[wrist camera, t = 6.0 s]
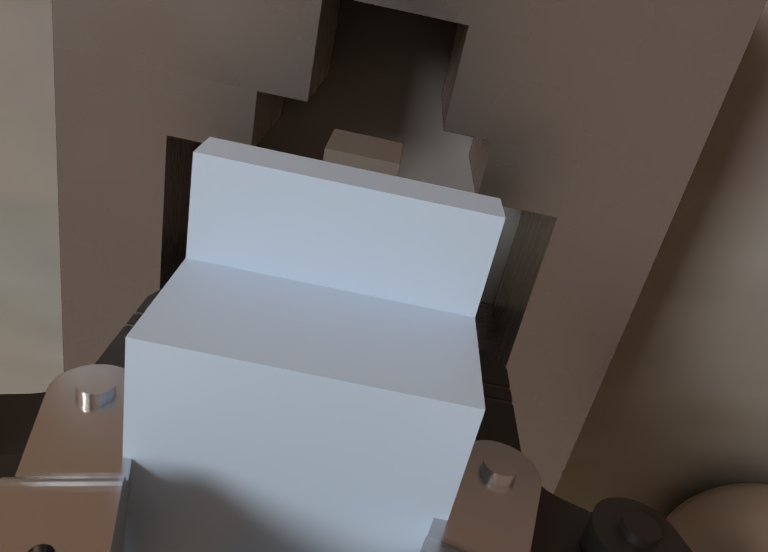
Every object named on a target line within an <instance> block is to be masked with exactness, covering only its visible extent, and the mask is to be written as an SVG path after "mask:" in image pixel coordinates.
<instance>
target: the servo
mask: <svg viewBox="0 0 768 552" xmlns="http://www.w3.org/2000/svg"><path fill="white" fill-rule="evenodd" d="M402 146H403V143H400V142H395V141H391V140H386V139H381V138H377V137H372V136H367V135H363V134H358V133H353V132H349V131H344V130H339V129H334V131H333V133H332V135H331V137H330V139H329V141H328V143H327V145H326V147H325V150H324V157H323V161H322V160H317V159H312V158H308V157H303V156H298V155H293V154H289V153H284V152H279V151H275V150H270V149H265V148H261V147H256V146H251V145H246V144H242V143H237V142H232V141H228V140H223V139H218V138H214V137H209V138H208V139H207V140H206V141H204V142H203V143H202V144H201V145H200V146H199V147H198V148H197V149H196V150H195V151H193V161H192V175H191V190H190V204H189V219H188V233H187V247H186V258H185V260H184V261H183V262H182V263H181V265H180V266H179V267H178V269H177V270H176V271H175V273H174V274H173V275H172V277H171V278H170V279H169V281H168V282H167V283H166V284H165V286H164V287H163V288H162V290H161V291H160V292H159V294H158V295H157V296H156V298H155V299H154V300H153V302H152V303H151V304H150V306H149V307H148V308H147V309H146V311H145V312H144V313H143V315H142V316H141V317H140V319H139V320H138V321H137V323H136V324H135V325H134V327H133V328H132V329H131V330H130V332H129V333H128V334H127V336H126V337H125V377H124V418H123V457H124V458H130V459H132V470H131V489H130V495H129V501H128V508H127V516H126V526H125V543H124V552H420V551H421V548H422V545H423V542H424V540H425V537H426V535H428V532H429V529H430V527H431V524H432V521H433V518H438V519H443V520H448V518H449V515H450V512H451V509H452V506H453V503H454V501H455V498H456V495H457V492H458V489H459V486H460V483H461V480H462V477H463V474H464V471H465V468H466V465H467V462H468V459H469V456H470V454H471V451H472V448H473V445H474V442H475V439H476V436H477V433H478V430H479V427H480V424H481V421H482V418H483V415H484V412H485V402H484V393H483V384H482V375H481V366H480V357H479V348H478V339H477V330H476V321H475V316H476V313H477V310H478V306H479V303H480V300H481V297H482V293H483V290H484V287H485V284H486V280H487V277H488V274H489V271H490V267H491V264H492V261H493V257H494V254H495V251H496V248H497V244H498V241H499V238H500V235H501V231H502V228H503V225H504V222H505V214H504V210H503V206H502V202H501V199H500V198H495V197H491V196H486V195H481V194H477V193H472V192H467V191H463V190H458V189H453V188H449V187H444V186H439V185H434V184H430V183H425V182H420V181H416V180H411V179H406V178H402V177H397V175H398V171H399V166H400V160H401V153H402Z"/></svg>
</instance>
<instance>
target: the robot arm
mask: <svg viewBox="0 0 768 552" xmlns="http://www.w3.org/2000/svg"><path fill="white" fill-rule="evenodd" d="M161 290H162V289H161ZM161 290H159V291H157V292H155V293H153V294H151V295H149V296H147V298H146V299H145V300H144V302H143V303H142V304H141V305H140V307H139V308H138V309H137V310H136V314H133V316H132V317H131V318H130V319H129V321H128V322H127V325H126V326H124V327H123V328H122V330H121V331H120V332H119V333H118V335H117V336H116V337H115V339H114V340H113V341H112V342H111V344H110V345H109V346H108V347H107V349H106V350H105V351H104V353H103V354H102V355H101V356H100V358H99V359H98V360H97V361H96V363H95V364H93V365H85V366H80V367H77V368H74V369H71V370H68V371H66V372H64V373H62V374H61V375H59V376H58V377H56V378H55V379H54V380H53V381H52V382H51V383H50V385H49V386H48V388H47V390H46V392H43V393H34V394H2V395H0V552H124V543H125V526H126V516H127V508H128V501H129V495H130V489H131V470H132V459H130V458H124V457H123V418H124V377H125V337H126V336H127V334H128V333H129V332H130V330H131V329H132V328H133V327H134V325H135V324H136V323H137V321H138V320H139V319H140V317H141V316H142V315H143V313H144V312H145V311H146V309H147V308H148V307H149V306H150V304H151V303H152V302H153V300H154V299H155V298H156V296H157V295H158V294H159V292H160V291H161ZM479 357H480V366H481V375H482V384H483V393H484V402H485V412H484V415H483V418H482V421H481V424H480V427H479V430H478V433H477V436H476V439H475V442H474V445H473V448H472V451H471V454H470V456H469V459H468V462H467V465H466V468H465V471H464V474H463V477H462V480H461V483H460V486H459V489H458V492H457V495H456V498H455V501H454V503H453V506H452V509H451V512H450V515H449V518H448V520H443V519H438V518H433V521H432V524H431V527H430V529H429V532H428V535H426V537H425V540H424V542H423V545H422V548H421V551H420V552H693V551H692V550H691V549H690V548H689V546H688V545H687V544H686V542H685V541H684V540H683V538H682V537H681V536H680V534H679V533H678V532H677V530H676V529H675V528H674V527H673V526H672V525H671V523H669V522H668V521H667V520H666V519H665V518H664V517H663V516H662V515H660V514H659V513H658V512H656V511H655V510H653V509H651V508H650V507H648V506H646V505H644V504H642V503H639V502H637V501H634V500H630V499H626V498H607V499H605V500H602V501H601V502H599V503H598V504H597V505H596V506H595V507H594V509H593V512H592V513H591V512H589V511H587V510H585V509H583V508H580V507H578V506H576V505H574V504H571V503H569V502H567V501H565V500H563V499H561V498H559V497H557V496H555V495H553V494H552V493H550V492H549V491H547V490H546V489H545V488H543V487H542V481H541V476H540V474H539V472H538V470H537V468H536V467H535V465H534V464H533V463H532V462H531V460H530V459H528V458H527V457H526V456H525V455H524V454H522V453H521V447H520V441H519V436H518V430H517V424H516V418H515V412H514V407H513V405H512V395H511V390H510V383H509V377H508V372H507V369H506V367H505V366H504V365H503V363H502V362H501V361H500V359H499V358H498V357H497V355H496V354H495V353H494V352H491V351H486V350H481V349H479Z"/></svg>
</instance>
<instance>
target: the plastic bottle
mask: <svg viewBox="0 0 768 552" xmlns="http://www.w3.org/2000/svg"><path fill="white" fill-rule="evenodd" d="M666 520H667V521H668V522H669V523H671V525H672V526H673V527H674V528H675V529H676V530H677V532H678V533H679V534H680V536H681V537H682V538H683V540H684V541H685V542H686V544H687V545H688V546H689V548H690V549H691V550H692V551H693V552H768V484H763V483H736V484H730V485H724V486H719V487H716V488H713V489H709V490H706V491H703V492H701V493H699V494H697V495H695V496H693V497H691V498H689V499H687V500H686V501H685V502H683V503H682V504H680V505H679V506H677V507H676V508H675V509H674V510H673V511H672V512H671V513H670V514H669V515H668V516H667V518H666Z"/></svg>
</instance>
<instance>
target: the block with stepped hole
mask: <svg viewBox="0 0 768 552" xmlns="http://www.w3.org/2000/svg"><path fill="white" fill-rule="evenodd" d="M340 1H341V0H52V23H53V54H54V84H55V115H56V146H57V176H58V207H59V237H60V268H61V299H62V329H63V360H64V372H66V371H68V370H71V369H74V368H77V367H80V366H85V365H93V364H95V363H96V361H97V360H98V359H99V358H100V356H101V355H102V354H103V353H104V351H105V350H106V349H107V347H108V346H109V345H110V344H111V342H112V341H113V340H114V339H115V337H116V336H117V335H118V333H119V332H120V331H121V330H122V328H123V327H124V326H126V325H127V322H128V321H129V319H130V318H131V317H132V316H133V314H136V310H137V309H138V308H139V307H140V305H141V304H142V303H143V302H144V300H145V299H146V298H147V296H149V295H151V294H153V293H155V292H157V291H159V290H161V289H162V288H163V287H164V286H165V284H166V283H167V282H168V281H169V279H170V278H171V277H172V275H173V274H174V273H175V271H176V270H177V269H178V267H179V266H180V265H181V263H182V262H183V261H184V260H185V258H186V247H187V233H188V219H189V204H190V190H191V175H192V161H193V151H195V150H196V149H197V148H198V147H199V146H200V145H201V144H202V143H203V142H204V141H206V140H207V139H208V138H209V137H214V138H218V139H223V140H228V141H232V142H237V143H242V144H246V145H251V146H257V144H258V143H259V142H260V141H261V139H262V138H263V137H264V136H265V135H266V133H267V132H268V131H269V130H270V128H271V127H272V126H273V125H274V124H275V122H276V121H277V120H278V119H279V117H280V116H281V115H282V108H283V100H284V97H288V98H292V99H297V100H302V101H306V102H308V100H309V99H310V98H311V96H312V95H313V93H314V92H315V91H316V89H317V88H318V87H319V85H320V84H321V82H322V81H323V80H324V78H325V77H326V76H327V74H328V73H329V71H330V65H331V59H332V53H333V46H334V40H335V33H336V27H337V20H338V14H339V7H340ZM355 1H360V2H364V3H369V4H373V5H378V6H382V7H387V8H392V9H396V10H401V11H405V12H410V13H414V14H419V15H424V16H428V17H433V18H437V19H442V20H446V21H451V22H456V23H458V28H457V32H456V36H455V40H454V45H453V49H452V53H451V57H450V62H449V66H448V70H447V74H446V79H445V83H444V87H443V91H442V113H443V131H447V132H451V133H456V134H461V135H466V136H470V137H473V141H472V145H471V149H470V152H469V158H470V165H471V171H472V177H473V183H474V189H475V193H477V194H481V195H486V196H491V197H495V198H500V199H501V202H502V206H505V207H510V208H515V209H519V210H523V213H522V216H521V219H520V222H519V226H518V229H517V232H516V235H515V238H514V241H513V244H512V248H511V251H510V254H509V257H508V260H507V263H506V266H505V270H504V273H503V276H502V279H501V282H500V285H499V289H498V292H497V295H496V298H495V301H494V304H493V305H492V304H487V303H482V302H480V303H479V306H478V310H477V313H476V316H475V321H476V330H477V339H478V348H479V349H481V350H486V351H491V352H494V353H495V354H496V355H497V357H498V358H499V359H500V361H501V362H502V363H503V365H504V366H505V367H506V369H507V372H508V377H509V383H510V390H511V395H512V405H513V407H514V412H515V418H516V424H517V430H518V436H519V441H520V447H521V453H522V454H524V455H525V456H526V457H527V458H528V459H530V460H531V462H532V463H533V464H534V465H535V467H536V468H537V470H538V472H539V474H540V476H541V481H542V487H543V488H545V489H546V490H547V491H549V492H550V493H552V494H554V492H555V489H556V487H557V485H558V482H559V480H560V478H561V475H562V473H563V471H564V468H565V466H566V464H567V462H568V459H569V457H570V455H571V452H572V450H573V448H574V445H575V443H576V441H577V438H578V436H579V434H580V431H581V429H582V427H583V425H584V422H585V420H586V418H587V415H588V413H589V411H590V408H591V406H592V404H593V401H594V399H595V397H596V394H597V392H598V390H599V388H600V385H601V383H602V381H603V378H604V376H605V374H606V371H607V369H608V367H609V364H610V362H611V360H612V357H613V355H614V353H615V351H616V348H617V346H618V344H619V341H620V339H621V337H622V334H623V332H624V330H625V327H626V325H627V323H628V320H629V318H630V316H631V314H632V311H633V309H634V307H635V304H636V302H637V300H638V297H639V295H640V293H641V290H642V288H643V286H644V283H645V281H646V279H647V277H648V274H649V272H650V270H651V267H652V265H653V263H654V260H655V258H656V256H657V253H658V251H659V249H660V247H661V244H662V242H663V240H664V237H665V235H666V233H667V230H668V228H669V226H670V223H671V221H672V219H673V216H674V214H675V212H676V210H677V207H678V205H679V203H680V200H681V198H682V196H683V193H684V191H685V189H686V186H687V184H688V182H689V179H690V177H691V175H692V173H693V170H694V168H695V166H696V163H697V161H698V159H699V156H700V154H701V152H702V149H703V147H704V145H705V142H706V140H707V138H708V136H709V133H710V131H711V129H712V126H713V124H714V122H715V119H716V117H717V115H718V112H719V110H720V108H721V105H722V103H723V101H724V99H725V96H726V94H727V92H728V89H729V87H730V85H731V82H732V80H733V78H734V75H735V73H736V71H737V68H738V66H739V64H740V62H741V59H742V57H743V55H744V52H745V50H746V48H747V45H748V43H749V41H750V38H751V36H752V34H753V31H754V29H755V27H756V25H757V22H758V20H759V18H760V15H761V13H762V11H763V8H764V6H765V4H766V1H767V0H355Z"/></svg>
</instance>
